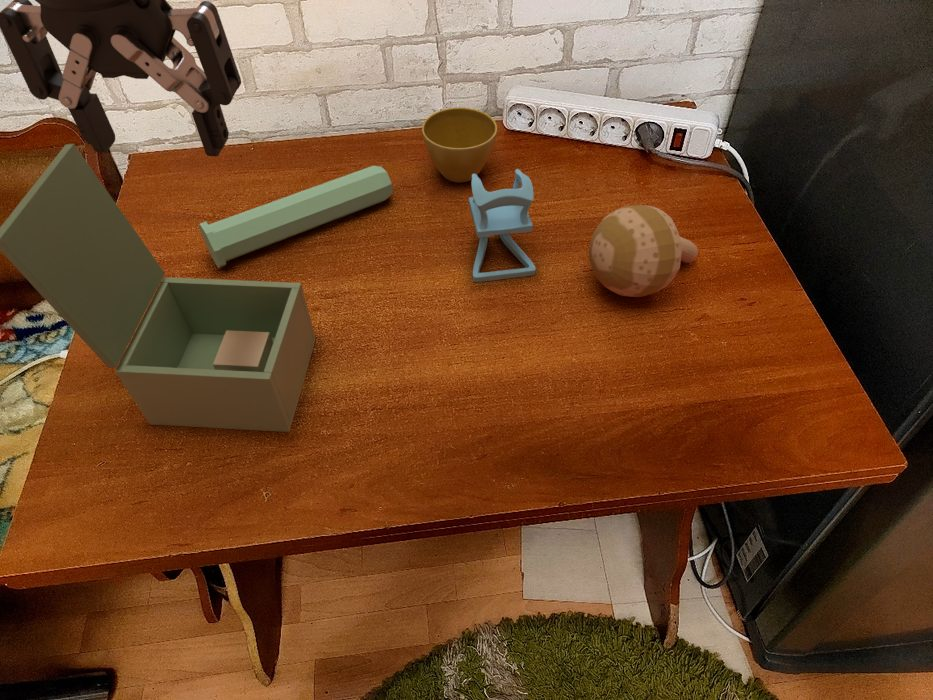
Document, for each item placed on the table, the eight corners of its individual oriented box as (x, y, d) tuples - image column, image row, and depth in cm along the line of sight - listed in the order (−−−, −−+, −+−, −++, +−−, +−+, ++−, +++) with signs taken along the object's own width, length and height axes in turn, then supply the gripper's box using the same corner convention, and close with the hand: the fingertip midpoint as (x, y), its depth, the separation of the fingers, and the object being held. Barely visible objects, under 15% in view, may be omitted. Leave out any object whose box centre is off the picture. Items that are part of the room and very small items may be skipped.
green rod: (380, 149, 90) (195, 214, 81) (402, 184, 89) (216, 254, 80) (376, 175, 96) (202, 239, 87) (396, 209, 94) (222, 277, 85)
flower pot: (509, 165, 98) (510, 120, 93) (472, 202, 93) (471, 157, 87) (450, 144, 102) (448, 100, 96) (411, 179, 96) (407, 134, 91)
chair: (522, 231, 89) (527, 151, 79) (536, 275, 83) (543, 195, 74) (463, 238, 88) (461, 158, 79) (473, 283, 83) (473, 202, 73)
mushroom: (736, 262, 80) (671, 243, 69) (671, 321, 85) (601, 312, 75) (685, 201, 85) (617, 175, 74) (626, 261, 90) (556, 244, 80)
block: (225, 392, 71) (212, 364, 68) (237, 358, 74) (226, 330, 71) (268, 394, 71) (257, 366, 68) (279, 360, 74) (269, 332, 71)
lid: (73, 143, 59) (65, 144, 59) (-1, 238, 51) (-11, 239, 51) (165, 273, 71) (157, 273, 71) (116, 367, 63) (108, 368, 63)
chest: (316, 338, 77) (300, 282, 70) (289, 432, 69) (269, 379, 62) (190, 332, 78) (163, 276, 71) (149, 424, 70) (114, 371, 63)
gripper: (-95, -76, 37) (47, 175, 50) (159, -72, 37) (239, 181, 49) (-22, -119, 42) (91, 118, 55) (204, -117, 41) (267, 124, 54)
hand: (161, 148), depth 52 cm, fingers open, 8 cm apart
